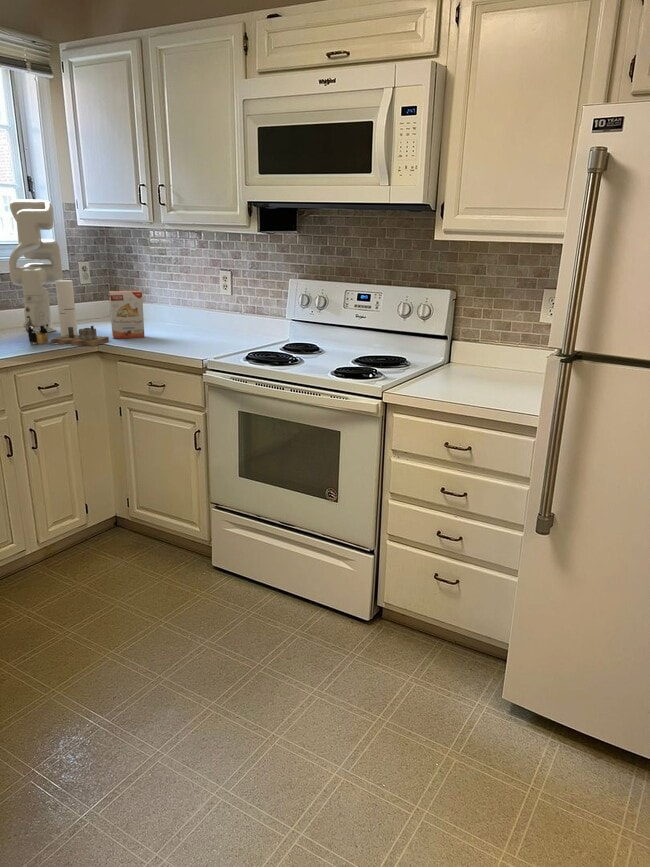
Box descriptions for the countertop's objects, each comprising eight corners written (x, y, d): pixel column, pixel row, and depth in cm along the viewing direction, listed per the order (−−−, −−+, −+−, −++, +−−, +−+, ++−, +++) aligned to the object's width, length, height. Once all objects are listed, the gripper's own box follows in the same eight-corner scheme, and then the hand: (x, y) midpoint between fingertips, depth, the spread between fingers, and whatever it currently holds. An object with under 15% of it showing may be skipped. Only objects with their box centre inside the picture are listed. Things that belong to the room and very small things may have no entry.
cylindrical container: (77, 337, 295) (71, 281, 288) (60, 337, 293) (54, 281, 285) (78, 334, 302) (72, 280, 294) (61, 335, 299) (55, 280, 292)
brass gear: (26, 343, 276) (25, 334, 275) (36, 341, 283) (35, 332, 282) (41, 344, 275) (40, 335, 274) (51, 342, 282) (50, 332, 280)
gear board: (50, 343, 277) (48, 326, 275) (68, 339, 289) (66, 322, 287) (93, 346, 274) (91, 328, 271) (108, 341, 286) (107, 324, 284)
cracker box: (113, 339, 292) (109, 292, 285) (112, 337, 297) (108, 290, 291) (145, 337, 297) (142, 291, 291) (143, 335, 302) (140, 290, 296)
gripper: (28, 301, 264) (34, 344, 270) (54, 297, 281) (58, 338, 286) (12, 300, 266) (18, 343, 271) (38, 296, 282) (43, 337, 287)
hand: (38, 340), depth 279 cm, fingers closed on brass gear, 7 cm apart
